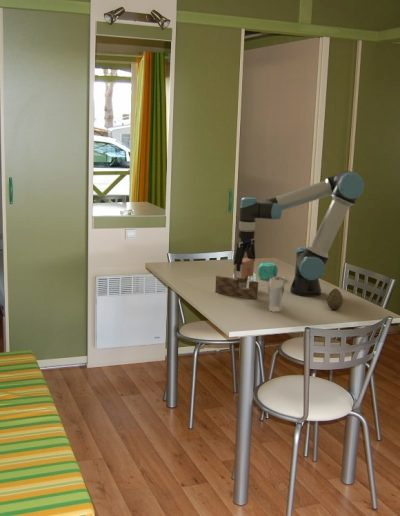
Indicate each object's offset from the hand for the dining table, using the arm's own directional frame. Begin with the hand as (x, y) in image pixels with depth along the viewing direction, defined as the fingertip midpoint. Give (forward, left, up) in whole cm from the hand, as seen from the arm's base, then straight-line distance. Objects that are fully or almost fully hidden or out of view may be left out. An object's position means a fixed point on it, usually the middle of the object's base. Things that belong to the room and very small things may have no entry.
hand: (243, 275), depth 331 cm
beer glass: (-23, +13, -11) cm, 29 cm away
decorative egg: (-44, -6, -11) cm, 46 cm away
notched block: (0, 0, 0) cm, 0 cm away
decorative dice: (+8, -43, -11) cm, 45 cm away
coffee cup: (+9, -14, -11) cm, 20 cm away
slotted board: (+4, 0, -10) cm, 11 cm away
